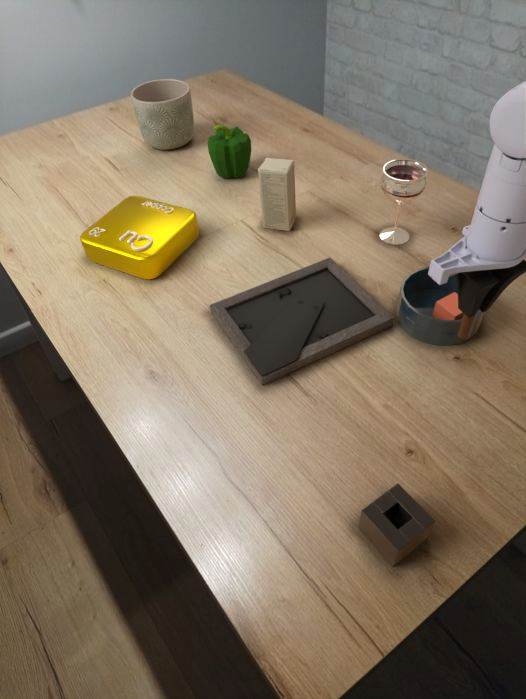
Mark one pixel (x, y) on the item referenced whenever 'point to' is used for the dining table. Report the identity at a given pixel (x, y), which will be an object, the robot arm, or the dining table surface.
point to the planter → (164, 113)
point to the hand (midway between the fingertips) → (472, 309)
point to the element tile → (140, 236)
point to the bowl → (429, 309)
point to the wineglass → (401, 192)
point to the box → (277, 193)
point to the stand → (404, 513)
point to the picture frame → (299, 319)
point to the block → (448, 308)
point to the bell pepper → (229, 151)
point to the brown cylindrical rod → (466, 325)
